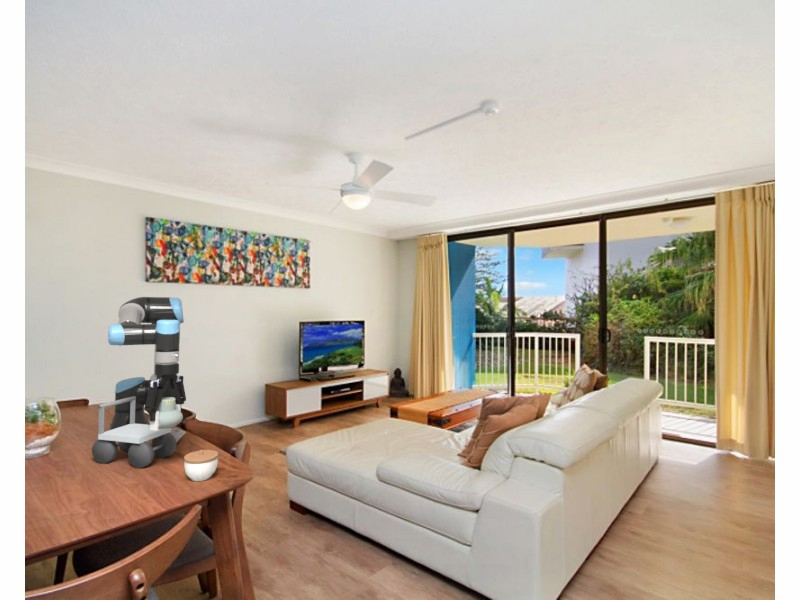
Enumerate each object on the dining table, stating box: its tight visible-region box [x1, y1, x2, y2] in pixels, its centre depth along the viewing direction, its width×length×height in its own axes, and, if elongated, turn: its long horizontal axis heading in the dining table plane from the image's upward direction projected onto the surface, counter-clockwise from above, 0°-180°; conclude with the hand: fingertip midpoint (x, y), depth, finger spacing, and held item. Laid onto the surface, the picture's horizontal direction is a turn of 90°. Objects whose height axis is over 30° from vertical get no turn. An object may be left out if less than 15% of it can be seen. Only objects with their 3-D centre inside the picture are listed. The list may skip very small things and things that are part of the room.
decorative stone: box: [152, 427, 187, 444], centre depth 184 cm, size 13×10×6 cm
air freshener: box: [147, 397, 184, 429], centre depth 153 cm, size 11×8×10 cm
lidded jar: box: [183, 449, 220, 482], centre depth 147 cm, size 11×11×9 cm
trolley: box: [91, 396, 177, 469], centre depth 163 cm, size 15×25×22 cm, turn 77°
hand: (165, 426), depth 153 cm, fingers closed on air freshener, 10 cm apart
